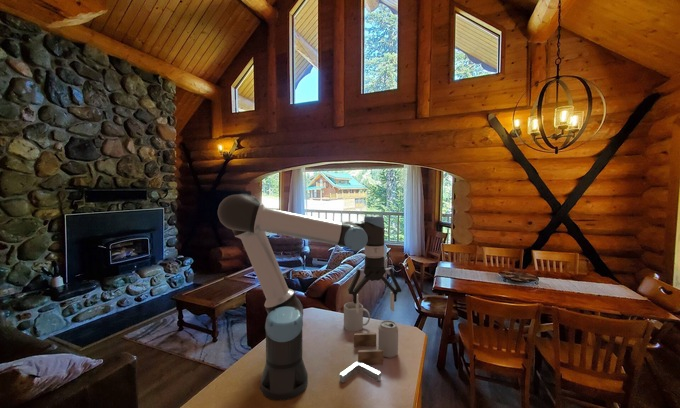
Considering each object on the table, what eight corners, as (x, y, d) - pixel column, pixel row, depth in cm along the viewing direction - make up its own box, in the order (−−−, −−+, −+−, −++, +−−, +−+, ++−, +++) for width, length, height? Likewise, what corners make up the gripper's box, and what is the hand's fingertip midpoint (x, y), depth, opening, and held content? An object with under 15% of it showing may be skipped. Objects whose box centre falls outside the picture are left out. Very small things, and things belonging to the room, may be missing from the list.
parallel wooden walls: (358, 365, 103) (358, 352, 103) (353, 345, 116) (354, 333, 116) (382, 364, 104) (383, 351, 103) (375, 344, 117) (375, 332, 117)
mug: (339, 326, 133) (340, 305, 132) (354, 320, 139) (354, 300, 139) (356, 335, 125) (356, 312, 124) (370, 328, 131) (371, 306, 131)
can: (398, 360, 107) (398, 328, 106) (378, 358, 108) (378, 327, 107) (397, 349, 114) (397, 319, 113) (378, 347, 115) (378, 318, 114)
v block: (339, 383, 93) (339, 376, 93) (338, 369, 101) (338, 362, 101) (381, 381, 94) (381, 374, 94) (376, 367, 102) (376, 360, 102)
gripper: (342, 259, 104) (343, 316, 105) (409, 257, 106) (409, 313, 107) (341, 254, 111) (341, 307, 112) (403, 252, 113) (403, 305, 114)
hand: (374, 310), depth 109 cm, fingers open, 13 cm apart
